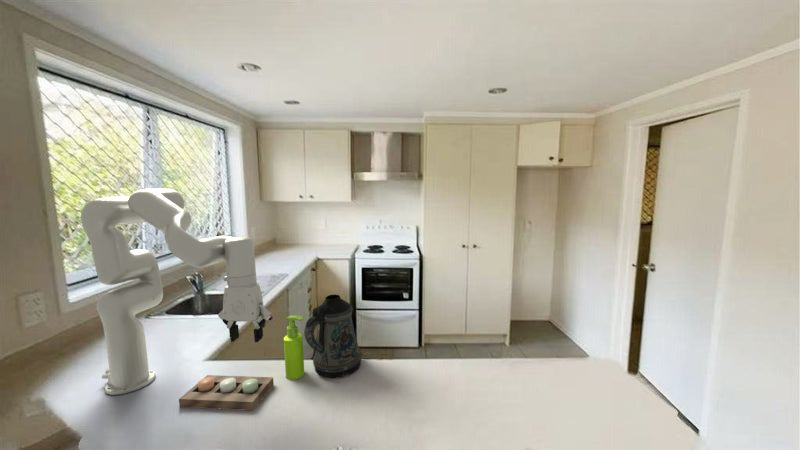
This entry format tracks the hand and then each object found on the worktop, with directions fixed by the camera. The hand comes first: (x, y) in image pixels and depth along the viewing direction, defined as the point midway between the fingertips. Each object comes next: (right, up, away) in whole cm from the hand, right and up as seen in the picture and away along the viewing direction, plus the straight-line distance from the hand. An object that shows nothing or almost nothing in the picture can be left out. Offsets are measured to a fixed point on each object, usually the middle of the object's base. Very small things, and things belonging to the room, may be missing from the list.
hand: (246, 339), depth 95 cm
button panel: (-7, -18, +3) cm, 19 cm away
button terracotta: (-14, -16, +3) cm, 21 cm away
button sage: (0, -16, +2) cm, 16 cm away
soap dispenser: (+11, -16, +13) cm, 23 cm away
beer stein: (+23, -16, +16) cm, 32 cm away
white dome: (-7, -16, +2) cm, 17 cm away
